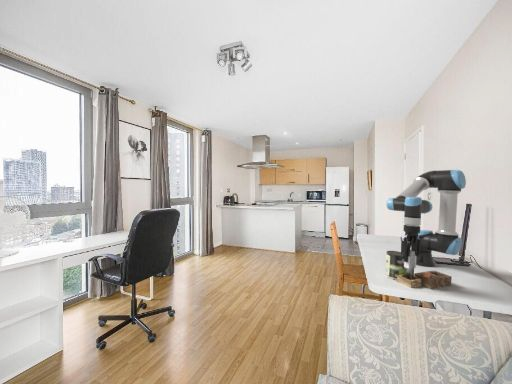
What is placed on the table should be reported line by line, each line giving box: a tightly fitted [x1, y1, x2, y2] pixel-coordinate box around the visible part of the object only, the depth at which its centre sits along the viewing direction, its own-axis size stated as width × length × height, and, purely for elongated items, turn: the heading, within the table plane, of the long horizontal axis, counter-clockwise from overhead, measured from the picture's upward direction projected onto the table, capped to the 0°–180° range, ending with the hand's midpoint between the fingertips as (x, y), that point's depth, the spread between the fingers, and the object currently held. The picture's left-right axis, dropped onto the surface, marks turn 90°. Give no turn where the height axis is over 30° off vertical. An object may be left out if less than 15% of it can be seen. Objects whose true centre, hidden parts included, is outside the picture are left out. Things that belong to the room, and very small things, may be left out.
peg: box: [405, 249, 415, 280], centre depth 125 cm, size 4×4×16 cm
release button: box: [422, 271, 430, 278], centre depth 123 cm, size 3×3×5 cm
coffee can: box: [385, 250, 405, 281], centre depth 134 cm, size 10×10×14 cm
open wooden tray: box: [396, 274, 422, 288], centre depth 125 cm, size 8×8×4 cm
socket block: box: [414, 270, 453, 290], centre depth 125 cm, size 16×9×5 cm, turn 109°
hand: (409, 267), depth 125 cm, fingers closed on peg, 4 cm apart
